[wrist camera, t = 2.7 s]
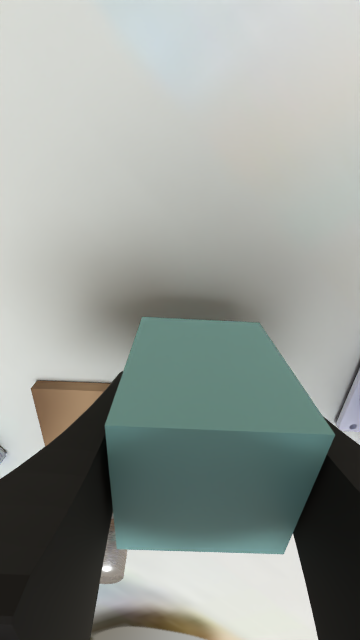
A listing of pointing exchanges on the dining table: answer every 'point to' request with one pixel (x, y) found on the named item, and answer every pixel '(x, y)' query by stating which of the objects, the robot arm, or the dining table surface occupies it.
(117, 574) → the round post
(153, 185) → the dining table surface
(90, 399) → the stand plate
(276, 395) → the teal foam brick
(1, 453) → the medicine box
